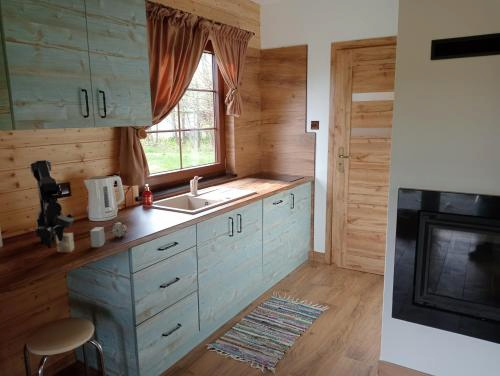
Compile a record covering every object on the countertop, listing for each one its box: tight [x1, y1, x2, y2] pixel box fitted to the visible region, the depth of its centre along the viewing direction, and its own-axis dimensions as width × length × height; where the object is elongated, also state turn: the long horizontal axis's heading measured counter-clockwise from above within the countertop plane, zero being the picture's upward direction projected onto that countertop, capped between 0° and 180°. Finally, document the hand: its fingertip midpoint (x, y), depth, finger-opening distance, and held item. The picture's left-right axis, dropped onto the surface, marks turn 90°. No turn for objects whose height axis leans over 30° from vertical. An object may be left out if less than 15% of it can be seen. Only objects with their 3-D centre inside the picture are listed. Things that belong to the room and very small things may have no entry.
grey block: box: [89, 226, 106, 248], centre depth 197 cm, size 6×4×8 cm, turn 177°
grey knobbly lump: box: [110, 220, 129, 240], centre depth 208 cm, size 9×8×10 cm
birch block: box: [55, 232, 75, 253], centre depth 189 cm, size 6×4×8 cm, turn 87°
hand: (55, 244), depth 181 cm, fingers open, 9 cm apart
